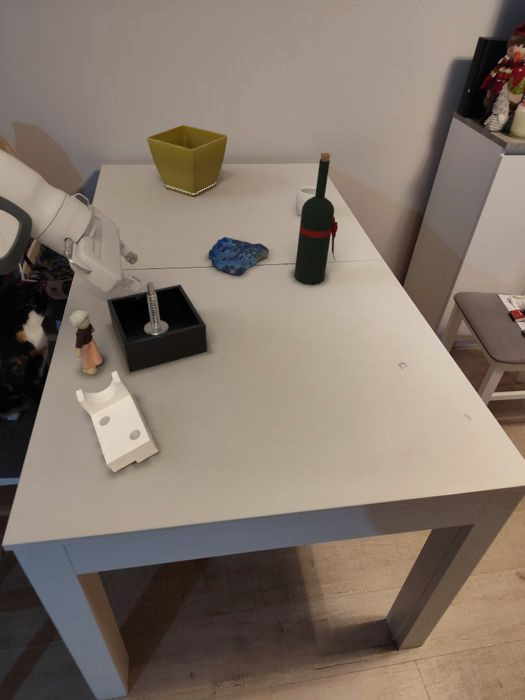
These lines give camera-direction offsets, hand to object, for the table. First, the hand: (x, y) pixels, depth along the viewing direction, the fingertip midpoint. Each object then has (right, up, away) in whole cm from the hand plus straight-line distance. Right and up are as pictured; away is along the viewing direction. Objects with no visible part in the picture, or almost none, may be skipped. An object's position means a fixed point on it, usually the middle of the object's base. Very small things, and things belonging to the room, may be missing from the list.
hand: (137, 273), depth 81 cm
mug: (+37, +30, +63) cm, 79 cm away
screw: (+1, -11, +11) cm, 16 cm away
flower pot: (-2, +42, +74) cm, 85 cm away
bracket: (-1, -28, -7) cm, 29 cm away
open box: (+1, -12, +12) cm, 16 cm away
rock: (+15, +10, +38) cm, 43 cm away
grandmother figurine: (-10, -17, +5) cm, 20 cm away
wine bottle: (+36, +5, +33) cm, 49 cm away
